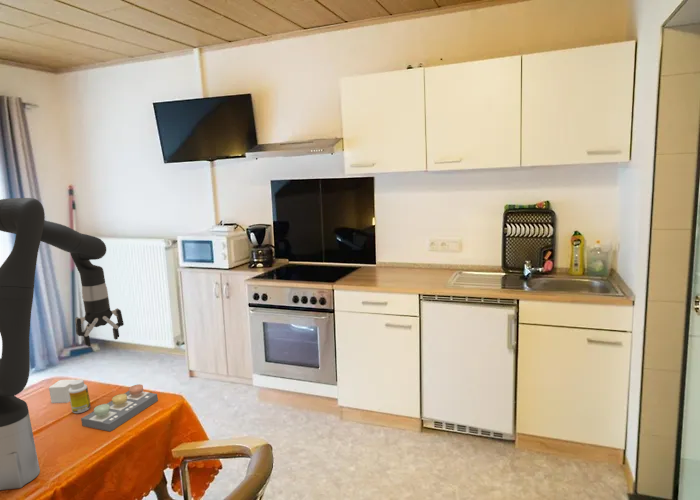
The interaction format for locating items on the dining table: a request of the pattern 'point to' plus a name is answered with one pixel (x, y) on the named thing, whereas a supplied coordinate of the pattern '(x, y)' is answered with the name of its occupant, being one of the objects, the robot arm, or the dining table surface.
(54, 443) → the dining table surface
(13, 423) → the robot arm
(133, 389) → the terracotta button
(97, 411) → the sage button
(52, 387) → the off-white cube
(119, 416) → the button panel
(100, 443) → the dining table surface
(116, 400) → the ochre button
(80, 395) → the supplement bottle
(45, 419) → the dining table surface
